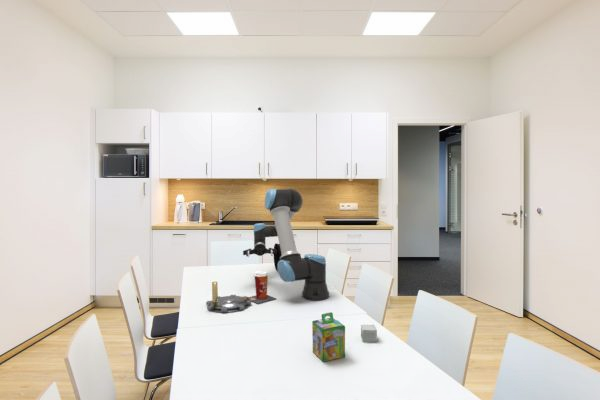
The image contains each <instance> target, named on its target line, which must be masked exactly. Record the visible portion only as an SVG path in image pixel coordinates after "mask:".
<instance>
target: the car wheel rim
mask: <svg viewBox="0 0 600 400" xmlns="http://www.w3.org/2000/svg"><path fill="white" fill-rule="evenodd" d="M273 249H277V254H273V262H274V263H273V264H274V267H275V270H276V271H277V272H278V269H277V267H278V266H277V264H278V262H279V261H280V257H281V255H282V254H281V249H280V244H279V243H274V246H273Z"/></svg>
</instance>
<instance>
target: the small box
mask: <svg viewBox="0 0 600 400" xmlns="http://www.w3.org/2000/svg"><path fill="white" fill-rule="evenodd" d="M360 337H361V341H362V342H363V343H377V342H378V331H377V328H376V326H375V324H361V325H360Z"/></svg>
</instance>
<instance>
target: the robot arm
mask: <svg viewBox="0 0 600 400" xmlns="http://www.w3.org/2000/svg"><path fill="white" fill-rule="evenodd" d="M303 202H304V200H303V196H302V194H301V193H300V192H299V191H298V190H296V189H294V188H281V189H279V188H273V189H272V188H271V189H268V190H267V191H266V193H265V197H264V207H265V209H266V210H269V214H270V215H271V216H273V221H274V224H273V225H266V224H265V223H258V222H257V223H255V224H254V225H253V249H252V248H248V249H245V250H243V251H242V255H243V256H246V257H247V258H250V255H256V256H259V257H260V256H263V255H267V254H270V255H271V257H274V254H277V249H274V248H272V247H269V248H267V247H266V238H274V237H277V238H278V244H280V249H281V254H282V255H281V257H280V261H279V262H278V264H277V266H278V267H277V269H278V271H277V273H278V276H279V277H280V280H282V281H283V282H286V283H288V282H290V283H291V282H292V283H293V282H297V281H304V285H303V289H302V291H301V297H302V298H303V299H304V300H307V301H308V300H309V301H323V300H327V299H329V298H330V291H329V290H328V286H327V282H326V281H327V276H326V275H327V273H326V272H327V271H326V270H327V268H326V267H327V263H326V258H325V256H323V255H319V254H315V253H313V254H311V253H307V254H304V256H303V257H302V254H301V253H300V252H298V251H297V246H296V245H297V244H296V242H295V237H294V233H293V228H292V223H291V220H292V219H293V218H294V216H295V215H296V213H298V212H299V211H300V210H301V209H302V207H303V204H304V203H303Z"/></svg>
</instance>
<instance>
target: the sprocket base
mask: <svg viewBox="0 0 600 400" xmlns="http://www.w3.org/2000/svg"><path fill="white" fill-rule="evenodd" d="M208 306H210V305H206V308H207V310H208V311H210V312H212V313H219V314H231V313H232V314H233V313H238V312H241V311H244V310H247V309H248V308H249V307H250V306H251V304H247V305H246V306H244V309H241V310H239V309H233V310H228V311H227V312H221V310H217V309H213V310H210V309H208Z"/></svg>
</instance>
